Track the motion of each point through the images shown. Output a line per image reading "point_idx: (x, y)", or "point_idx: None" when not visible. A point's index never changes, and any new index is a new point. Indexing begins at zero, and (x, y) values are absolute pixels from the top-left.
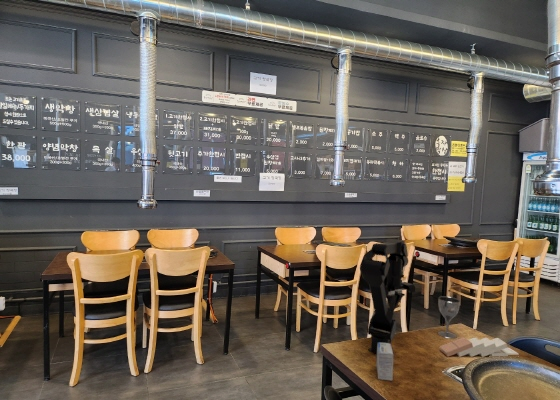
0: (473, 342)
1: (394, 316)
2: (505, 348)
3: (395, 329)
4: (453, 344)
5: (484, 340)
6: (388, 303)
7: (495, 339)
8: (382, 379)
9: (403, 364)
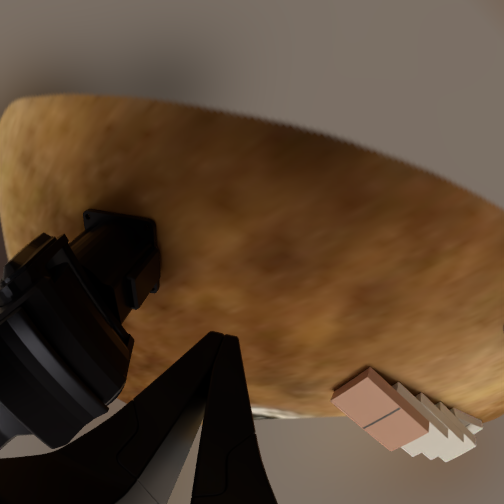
0: (417, 439)
1: (102, 410)
2: (473, 429)
3: (128, 363)
4: (382, 414)
5: (448, 442)
6: (149, 386)
7: (468, 445)
8: None
9: (144, 336)
